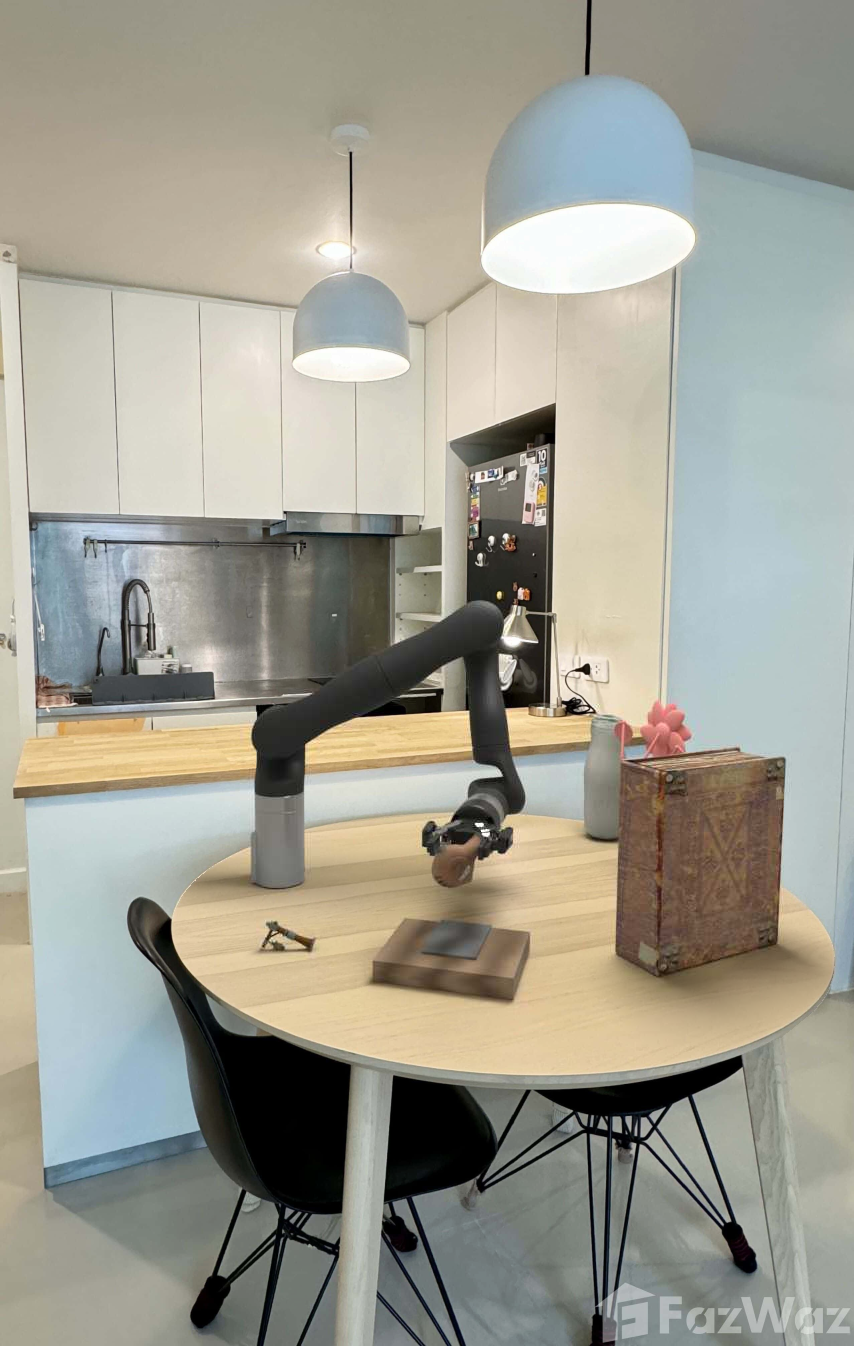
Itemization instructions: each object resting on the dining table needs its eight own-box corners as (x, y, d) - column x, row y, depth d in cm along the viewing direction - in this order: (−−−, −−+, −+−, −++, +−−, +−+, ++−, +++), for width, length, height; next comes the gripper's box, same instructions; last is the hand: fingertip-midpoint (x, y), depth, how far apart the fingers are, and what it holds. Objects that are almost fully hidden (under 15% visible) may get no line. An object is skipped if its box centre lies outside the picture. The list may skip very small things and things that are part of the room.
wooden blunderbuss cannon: (257, 941, 128) (269, 915, 127) (305, 961, 128) (316, 936, 128) (255, 946, 126) (267, 920, 126) (303, 967, 126) (315, 941, 126)
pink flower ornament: (677, 912, 142) (687, 711, 140) (587, 867, 166) (595, 694, 163) (743, 901, 149) (755, 708, 146) (648, 860, 172) (657, 693, 169)
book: (731, 923, 138) (739, 746, 135) (778, 944, 130) (787, 756, 127) (614, 953, 126) (620, 760, 123) (657, 978, 118) (665, 772, 115)
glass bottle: (623, 832, 191) (627, 712, 188) (629, 845, 181) (633, 718, 178) (580, 830, 192) (583, 711, 189) (584, 843, 182) (587, 717, 179)
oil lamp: (478, 877, 127) (480, 826, 126) (492, 886, 123) (494, 834, 122) (426, 886, 123) (428, 834, 122) (439, 896, 119) (440, 842, 118)
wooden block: (372, 980, 117) (372, 957, 116) (404, 935, 132) (404, 915, 132) (513, 999, 112) (513, 975, 111) (529, 950, 127) (530, 929, 127)
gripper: (436, 795, 137) (408, 822, 121) (522, 801, 134) (505, 830, 118) (435, 839, 138) (408, 872, 122) (521, 846, 135) (504, 881, 118)
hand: (455, 851), depth 120 cm, fingers closed on oil lamp, 6 cm apart
